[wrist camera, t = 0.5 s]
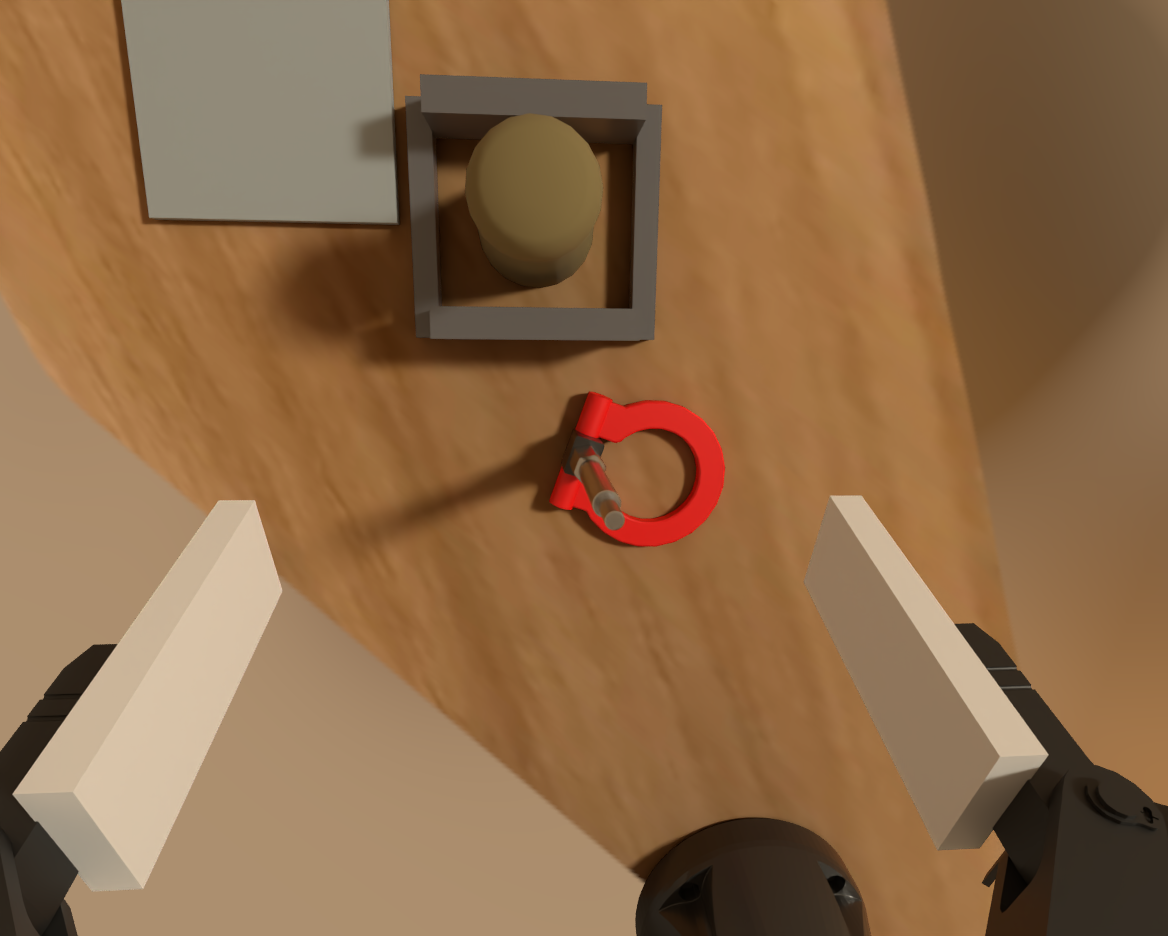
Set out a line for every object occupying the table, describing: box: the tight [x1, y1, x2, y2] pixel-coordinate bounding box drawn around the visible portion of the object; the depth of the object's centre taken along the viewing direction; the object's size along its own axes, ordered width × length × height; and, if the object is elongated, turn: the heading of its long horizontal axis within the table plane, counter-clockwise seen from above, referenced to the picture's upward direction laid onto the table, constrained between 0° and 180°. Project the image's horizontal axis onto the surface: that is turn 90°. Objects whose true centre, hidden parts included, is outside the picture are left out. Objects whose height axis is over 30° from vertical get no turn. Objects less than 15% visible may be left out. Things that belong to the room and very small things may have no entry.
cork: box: [465, 113, 603, 288], centre depth 28 cm, size 6×6×11 cm
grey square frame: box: [405, 74, 662, 341], centre depth 31 cm, size 11×12×4 cm
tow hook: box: [549, 392, 725, 546], centre depth 31 cm, size 8×13×9 cm
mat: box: [121, 0, 400, 225], centre depth 31 cm, size 12×12×1 cm
